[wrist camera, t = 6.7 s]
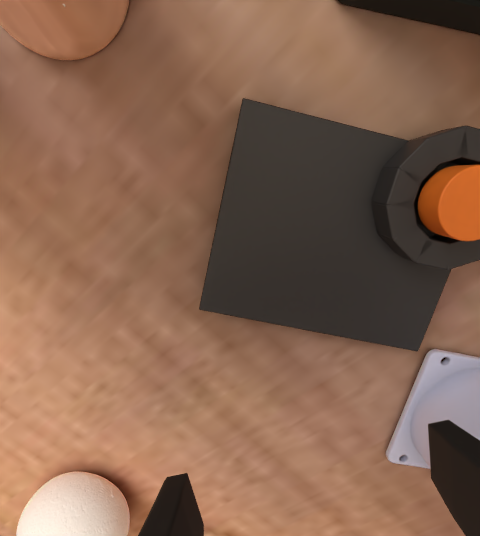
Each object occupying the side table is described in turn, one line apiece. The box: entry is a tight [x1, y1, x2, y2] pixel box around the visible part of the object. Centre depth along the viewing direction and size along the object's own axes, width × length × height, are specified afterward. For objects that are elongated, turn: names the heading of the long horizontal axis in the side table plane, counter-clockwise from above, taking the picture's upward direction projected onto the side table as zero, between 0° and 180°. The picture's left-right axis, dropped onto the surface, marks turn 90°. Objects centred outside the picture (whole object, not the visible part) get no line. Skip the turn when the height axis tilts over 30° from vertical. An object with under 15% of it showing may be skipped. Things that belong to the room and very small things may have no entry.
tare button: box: [418, 165, 480, 241], centre depth 14 cm, size 3×3×2 cm
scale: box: [199, 98, 480, 351], centre depth 16 cm, size 13×11×3 cm
